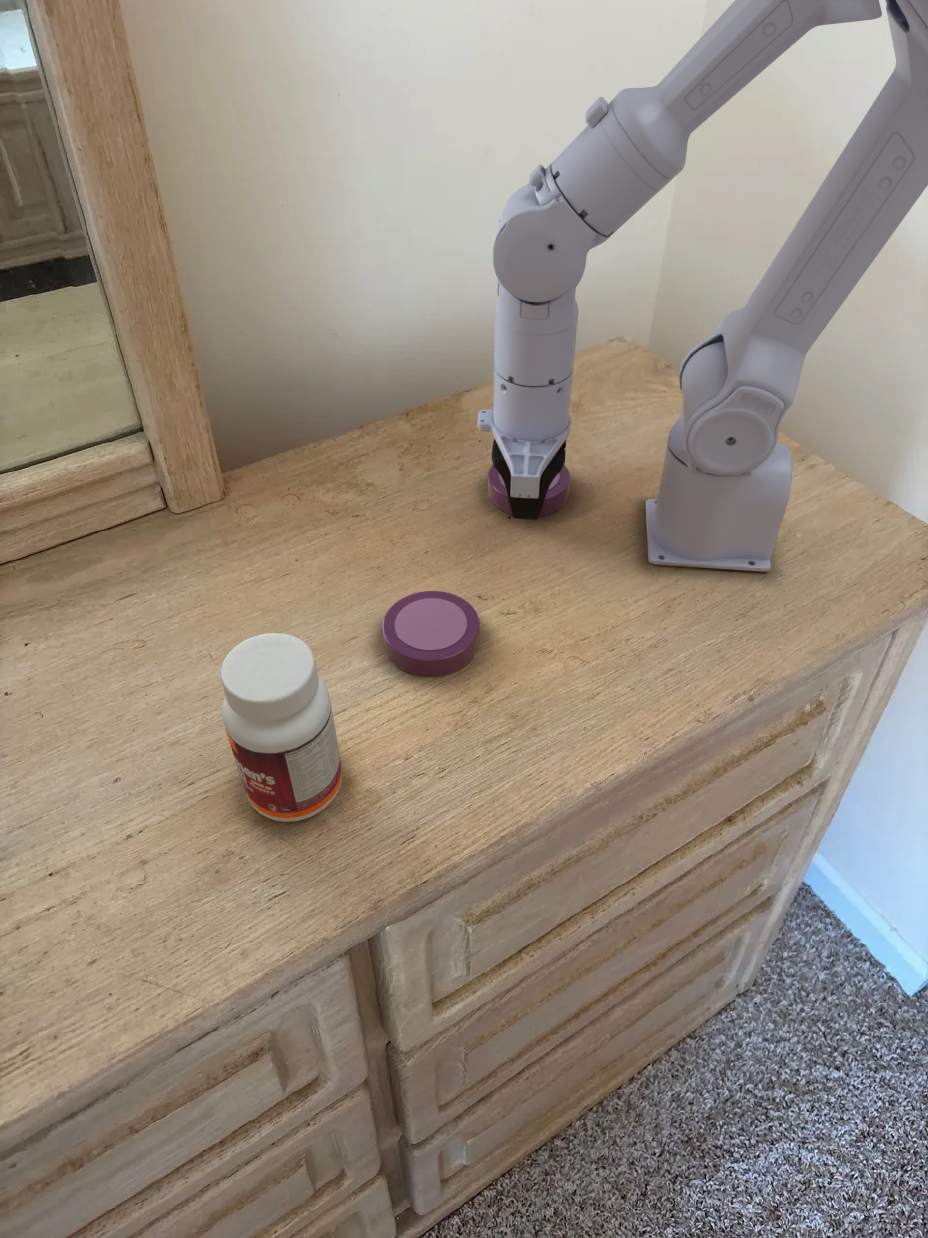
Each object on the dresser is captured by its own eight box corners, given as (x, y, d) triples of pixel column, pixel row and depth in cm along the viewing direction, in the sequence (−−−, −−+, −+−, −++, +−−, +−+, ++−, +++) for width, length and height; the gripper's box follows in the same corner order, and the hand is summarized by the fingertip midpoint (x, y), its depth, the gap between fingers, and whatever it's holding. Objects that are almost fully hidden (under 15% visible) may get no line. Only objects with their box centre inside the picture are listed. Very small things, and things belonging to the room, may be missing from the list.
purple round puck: (569, 470, 81) (571, 453, 79) (567, 520, 76) (569, 502, 74) (491, 465, 81) (492, 448, 80) (484, 514, 76) (484, 497, 75)
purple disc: (483, 610, 68) (483, 593, 67) (474, 681, 63) (474, 663, 62) (392, 604, 69) (390, 586, 67) (376, 673, 64) (374, 655, 63)
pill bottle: (226, 788, 57) (185, 670, 49) (298, 729, 60) (271, 609, 52) (292, 844, 54) (260, 729, 46) (364, 778, 58) (346, 660, 50)
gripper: (487, 315, 70) (485, 459, 80) (468, 419, 60) (468, 569, 70) (577, 319, 70) (565, 464, 79) (574, 425, 60) (560, 575, 69)
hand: (525, 514), depth 75 cm, fingers closed
